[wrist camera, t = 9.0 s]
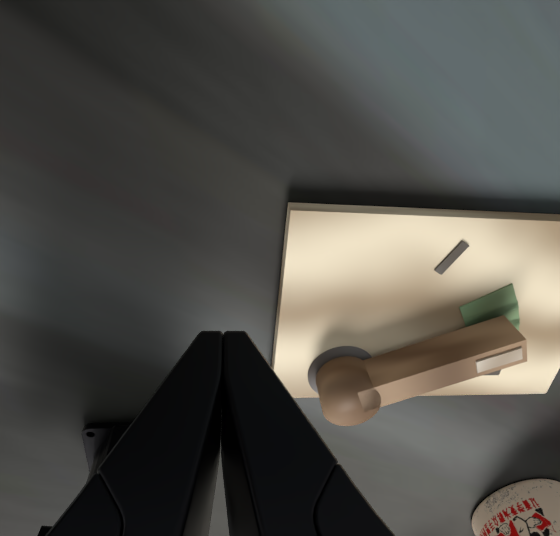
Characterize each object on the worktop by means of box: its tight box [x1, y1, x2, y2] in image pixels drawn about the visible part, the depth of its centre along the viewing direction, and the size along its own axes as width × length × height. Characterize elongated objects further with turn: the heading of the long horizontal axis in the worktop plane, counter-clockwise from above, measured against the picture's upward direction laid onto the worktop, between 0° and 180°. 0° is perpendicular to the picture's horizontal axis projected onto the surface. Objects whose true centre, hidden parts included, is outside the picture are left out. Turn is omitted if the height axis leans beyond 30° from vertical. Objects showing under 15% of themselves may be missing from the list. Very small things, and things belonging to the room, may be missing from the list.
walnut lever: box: [316, 315, 527, 426], centre depth 24 cm, size 11×3×2 cm, turn 108°
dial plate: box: [271, 202, 560, 398], centre depth 24 cm, size 12×18×1 cm, turn 85°
